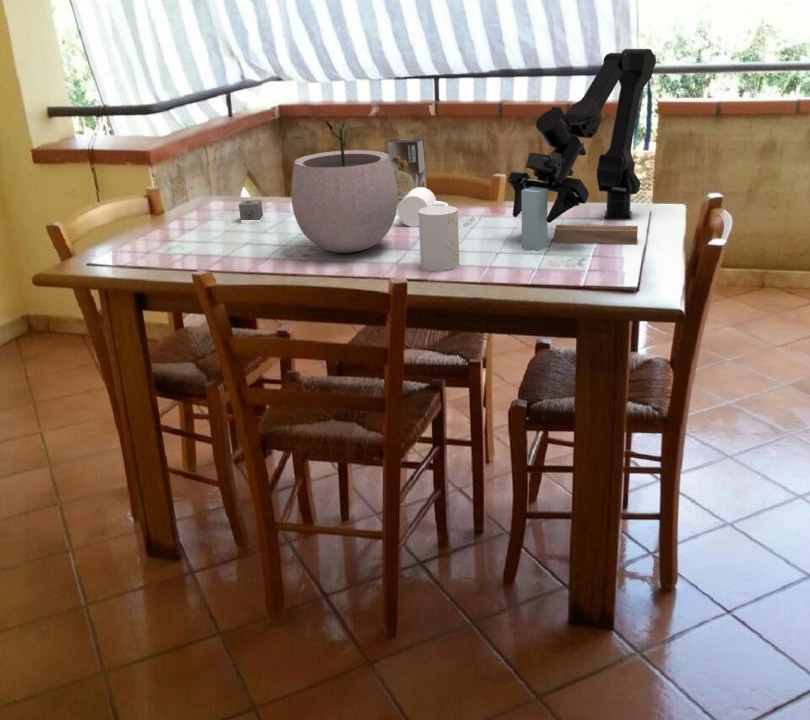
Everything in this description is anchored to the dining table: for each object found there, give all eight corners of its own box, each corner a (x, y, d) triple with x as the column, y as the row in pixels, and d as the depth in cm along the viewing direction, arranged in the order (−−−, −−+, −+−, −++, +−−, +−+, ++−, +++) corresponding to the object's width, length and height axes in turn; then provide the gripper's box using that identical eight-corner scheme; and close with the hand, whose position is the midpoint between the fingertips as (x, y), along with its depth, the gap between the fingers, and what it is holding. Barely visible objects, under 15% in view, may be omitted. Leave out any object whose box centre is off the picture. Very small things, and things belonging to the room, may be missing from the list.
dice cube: (245, 218, 236) (242, 200, 234) (263, 218, 235) (261, 199, 234) (241, 223, 231) (238, 204, 229) (259, 222, 231) (257, 204, 229)
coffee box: (427, 195, 251) (425, 137, 245) (421, 200, 246) (418, 141, 239) (397, 194, 254) (394, 138, 248) (390, 199, 248) (386, 141, 242)
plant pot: (412, 236, 209) (406, 107, 198) (383, 266, 188) (374, 122, 176) (318, 234, 216) (307, 109, 204) (280, 262, 195) (265, 124, 183)
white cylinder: (456, 271, 182) (454, 214, 177) (417, 271, 183) (415, 215, 179) (461, 260, 189) (460, 205, 184) (424, 260, 191) (422, 205, 186)
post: (532, 244, 198) (532, 186, 193) (547, 246, 195) (547, 188, 190) (521, 248, 195) (521, 190, 190) (536, 251, 193) (536, 192, 188)
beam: (556, 237, 202) (556, 224, 201) (637, 238, 197) (637, 225, 196) (554, 242, 198) (554, 229, 197) (636, 244, 193) (637, 231, 192)
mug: (398, 227, 219) (396, 195, 216) (406, 217, 228) (405, 187, 225) (446, 227, 216) (445, 195, 213) (452, 217, 225) (451, 186, 222)
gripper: (512, 134, 195) (480, 193, 192) (582, 140, 183) (550, 203, 180) (533, 164, 203) (503, 221, 200) (602, 172, 191) (571, 232, 188)
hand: (530, 218), depth 192 cm, fingers open, 9 cm apart
